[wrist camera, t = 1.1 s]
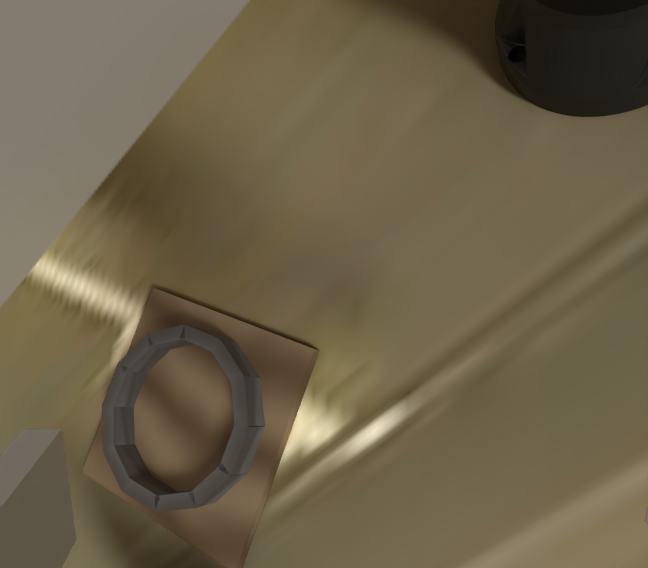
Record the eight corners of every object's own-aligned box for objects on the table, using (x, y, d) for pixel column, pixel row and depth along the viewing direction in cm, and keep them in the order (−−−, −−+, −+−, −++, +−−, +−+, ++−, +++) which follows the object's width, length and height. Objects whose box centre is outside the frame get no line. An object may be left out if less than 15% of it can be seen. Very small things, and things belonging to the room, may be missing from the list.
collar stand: (159, 289, 51) (133, 281, 48) (319, 350, 43) (300, 345, 40) (90, 471, 50) (58, 475, 46) (241, 569, 42) (215, 581, 38)
